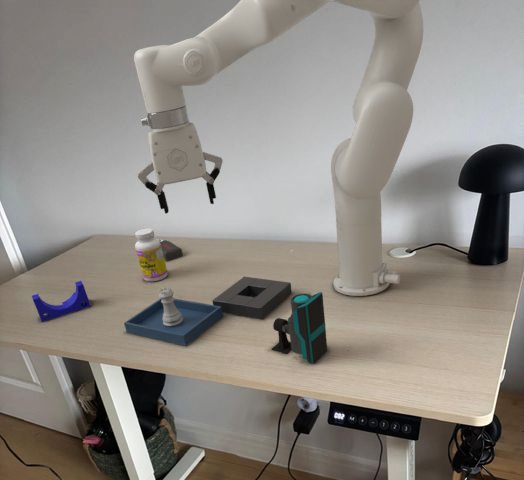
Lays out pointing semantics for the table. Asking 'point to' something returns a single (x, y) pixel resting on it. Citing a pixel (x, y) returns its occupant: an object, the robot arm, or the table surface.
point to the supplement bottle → (150, 255)
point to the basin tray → (191, 327)
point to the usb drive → (170, 250)
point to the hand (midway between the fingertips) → (189, 207)
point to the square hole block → (258, 307)
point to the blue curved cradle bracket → (70, 305)
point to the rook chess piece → (169, 308)
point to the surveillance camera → (303, 328)
